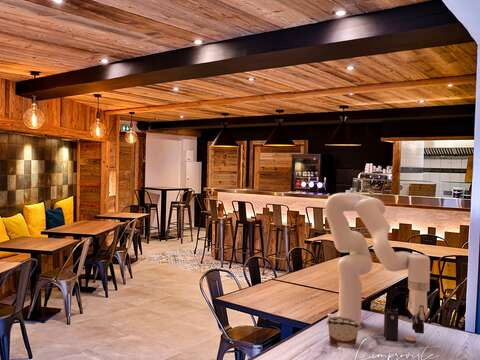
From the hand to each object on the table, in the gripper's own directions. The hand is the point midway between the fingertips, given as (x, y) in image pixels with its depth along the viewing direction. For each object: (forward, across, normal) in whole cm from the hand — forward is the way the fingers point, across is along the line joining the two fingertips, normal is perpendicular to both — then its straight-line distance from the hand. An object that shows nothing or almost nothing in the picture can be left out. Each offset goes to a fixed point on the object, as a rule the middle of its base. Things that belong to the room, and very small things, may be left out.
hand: (417, 331), depth 186 cm
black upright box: (+6, 0, -10) cm, 11 cm away
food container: (+6, +9, -29) cm, 31 cm away
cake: (+6, 0, -3) cm, 7 cm away
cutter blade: (-3, 0, -5) cm, 6 cm away
